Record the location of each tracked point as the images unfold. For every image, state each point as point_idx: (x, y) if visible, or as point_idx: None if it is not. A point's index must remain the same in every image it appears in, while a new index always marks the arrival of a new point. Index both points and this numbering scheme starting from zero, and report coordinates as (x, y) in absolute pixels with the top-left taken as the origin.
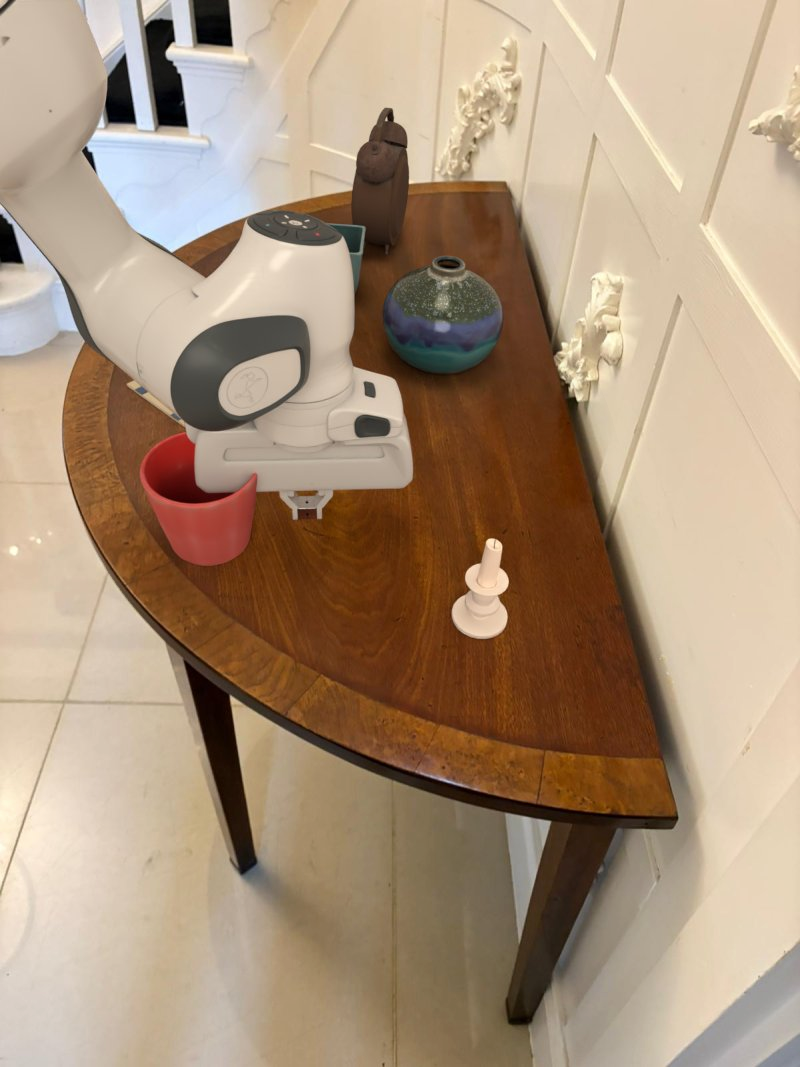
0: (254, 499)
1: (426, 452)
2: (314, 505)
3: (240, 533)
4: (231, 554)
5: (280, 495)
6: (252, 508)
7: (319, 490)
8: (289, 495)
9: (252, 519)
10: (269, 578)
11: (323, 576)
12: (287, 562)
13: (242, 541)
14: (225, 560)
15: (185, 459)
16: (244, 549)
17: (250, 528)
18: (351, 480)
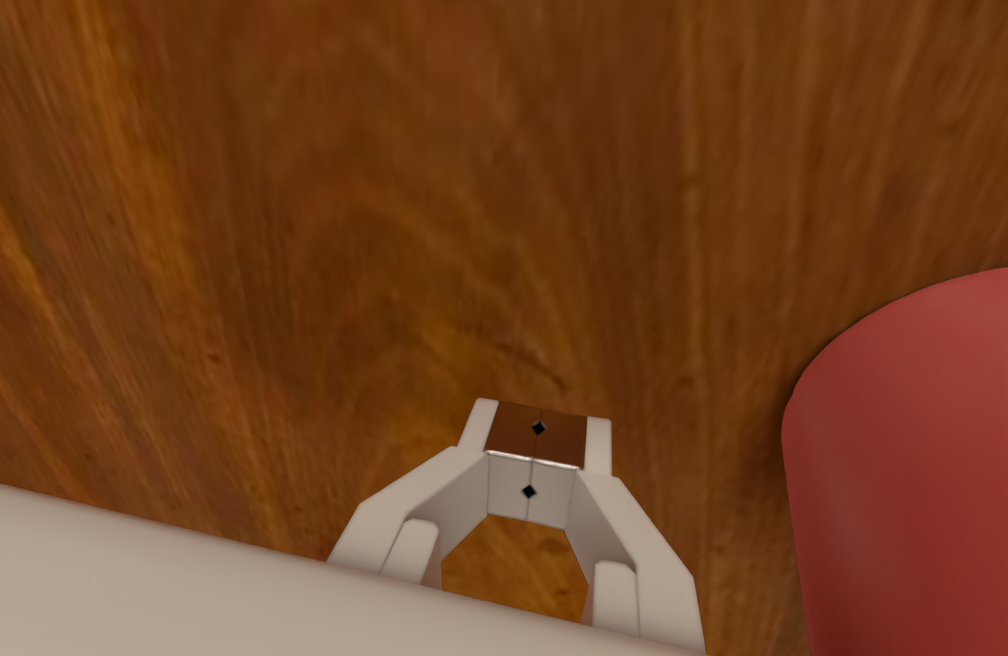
0: (944, 632)
1: (235, 537)
2: (492, 467)
3: (997, 382)
4: (968, 296)
5: (689, 590)
6: (927, 546)
7: (418, 566)
8: (626, 574)
9: (838, 461)
10: (781, 140)
11: (515, 122)
12: (664, 232)
13: (909, 350)
14: (995, 274)
15: None
16: (844, 332)
17: (841, 415)
18: (81, 628)
